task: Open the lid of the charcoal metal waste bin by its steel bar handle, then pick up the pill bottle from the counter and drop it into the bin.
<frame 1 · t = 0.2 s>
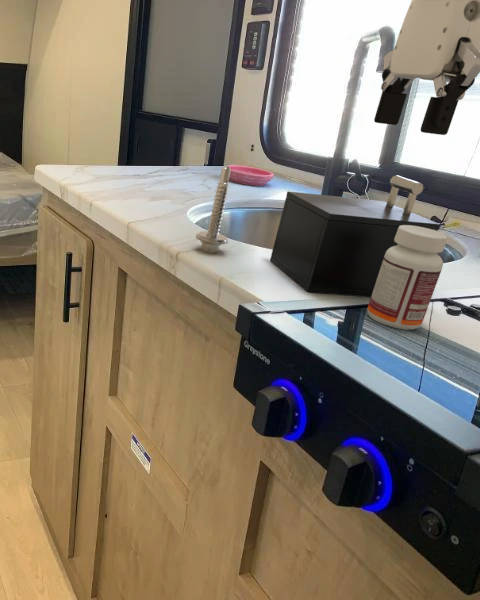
hand: (407, 128, 75), 22 cm above the countertop, tool pointing down, fingers open, 9 cm apart
pill bottle: (391, 321, 73), on the countertop
bin lid: (363, 193, 81), point 12 cm above the countertop, hinge at 0.0°
bin: (335, 279, 86), on the countertop
screw: (208, 251, 92), on the countertop
saucer: (246, 182, 156), on the countertop
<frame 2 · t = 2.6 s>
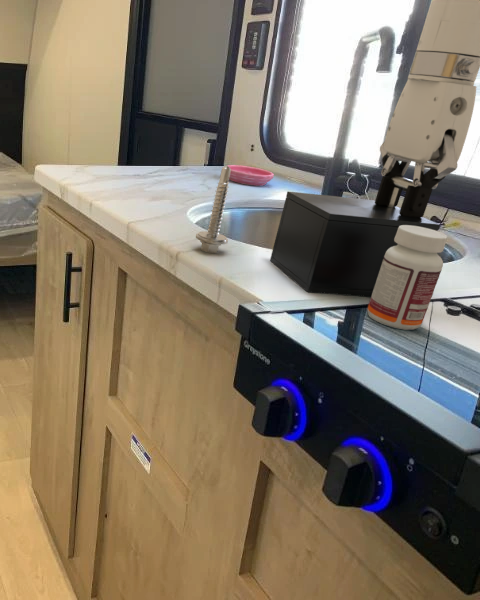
hand: (398, 209, 82), 11 cm above the countertop, tool pointing down, fingers closed on bin lid, 5 cm apart
bin lid: (363, 194, 81), point 12 cm above the countertop, hinge at -0.1°, touching gripper
everything else where it was.
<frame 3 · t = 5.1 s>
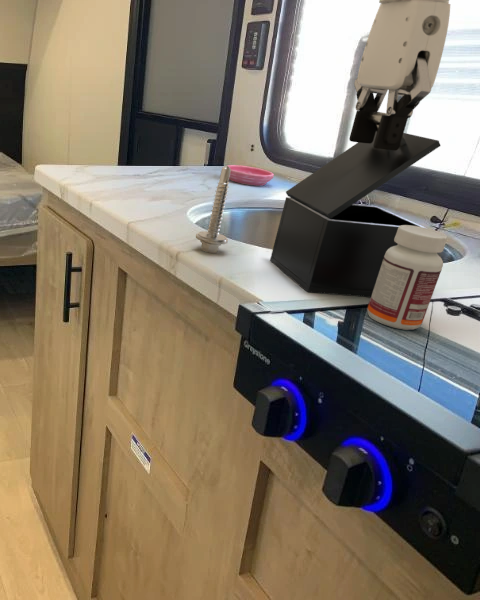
hand: (372, 144, 78), 19 cm above the countertop, tool pointing down, fingers closed on bin lid, 5 cm apart
bin lid: (350, 157, 79), point 17 cm above the countertop, hinge at 42.0°, touching gripper
everything else where it was.
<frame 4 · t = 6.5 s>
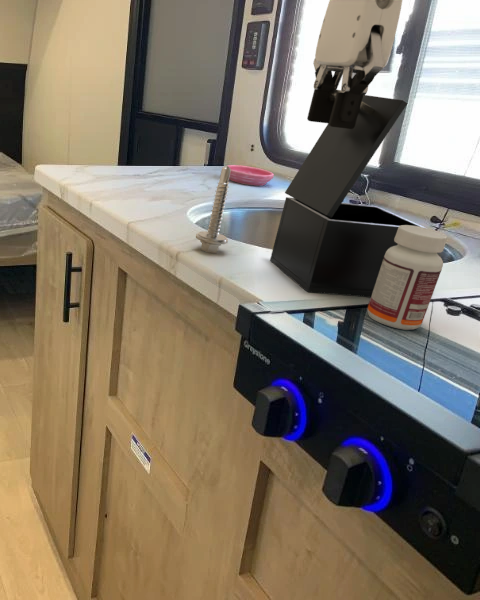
hand: (329, 123, 77), 21 cm above the countertop, tool pointing down, fingers closed on bin lid, 5 cm apart
bin lid: (326, 145, 78), point 18 cm above the countertop, hinge at 69.6°, touching gripper
everything else where it was.
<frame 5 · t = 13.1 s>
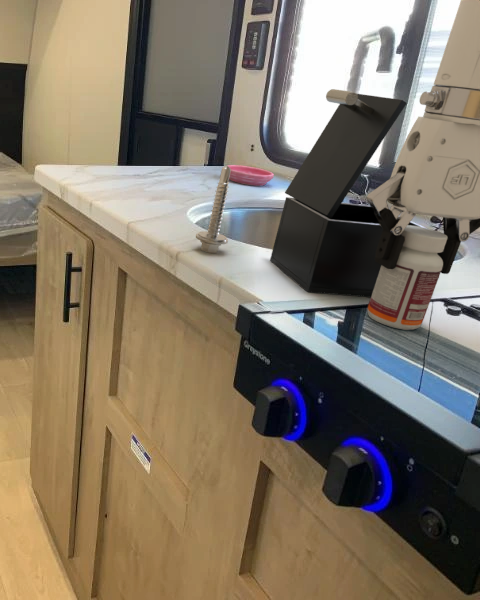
hand: (411, 266, 70), 7 cm above the countertop, tool pointing down, fingers closed on pill bottle, 6 cm apart
pill bottle: (391, 321, 73), on the countertop, touching gripper
bin lid: (326, 144, 78), point 18 cm above the countertop, hinge at 69.9°
everything else where it was.
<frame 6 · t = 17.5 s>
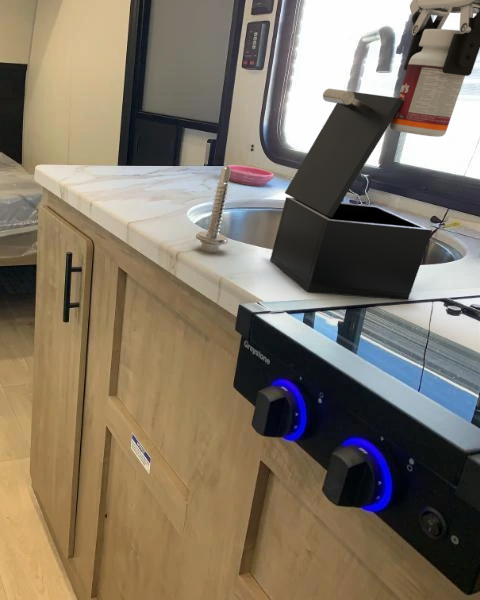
hand: (435, 71, 70), 28 cm above the countertop, tool pointing down, fingers closed on pill bottle, 6 cm apart
pill bottle: (415, 134, 72), point 21 cm above the countertop, touching gripper
bin lid: (324, 144, 78), point 18 cm above the countertop, hinge at 71.8°
everything else where it was.
when the fingers open (8 cm above the countertop, at t = 23.2 s): pill bottle stays where it is, resting on bin.
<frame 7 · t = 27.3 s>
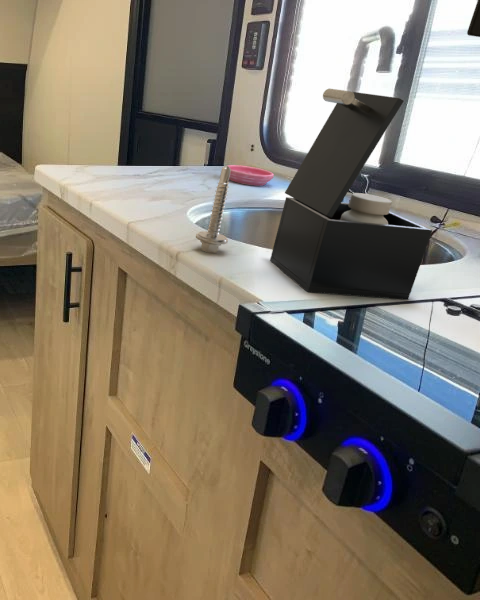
pill bottle: (347, 276, 86), point 1 cm above the countertop, touching bin
everything else where it was.
at the end: bin lid at +72° (first picture: +0°); pill bottle inside the target area in the bin (1.7 cm from its centre), point 0.6 cm above the bin's base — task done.
